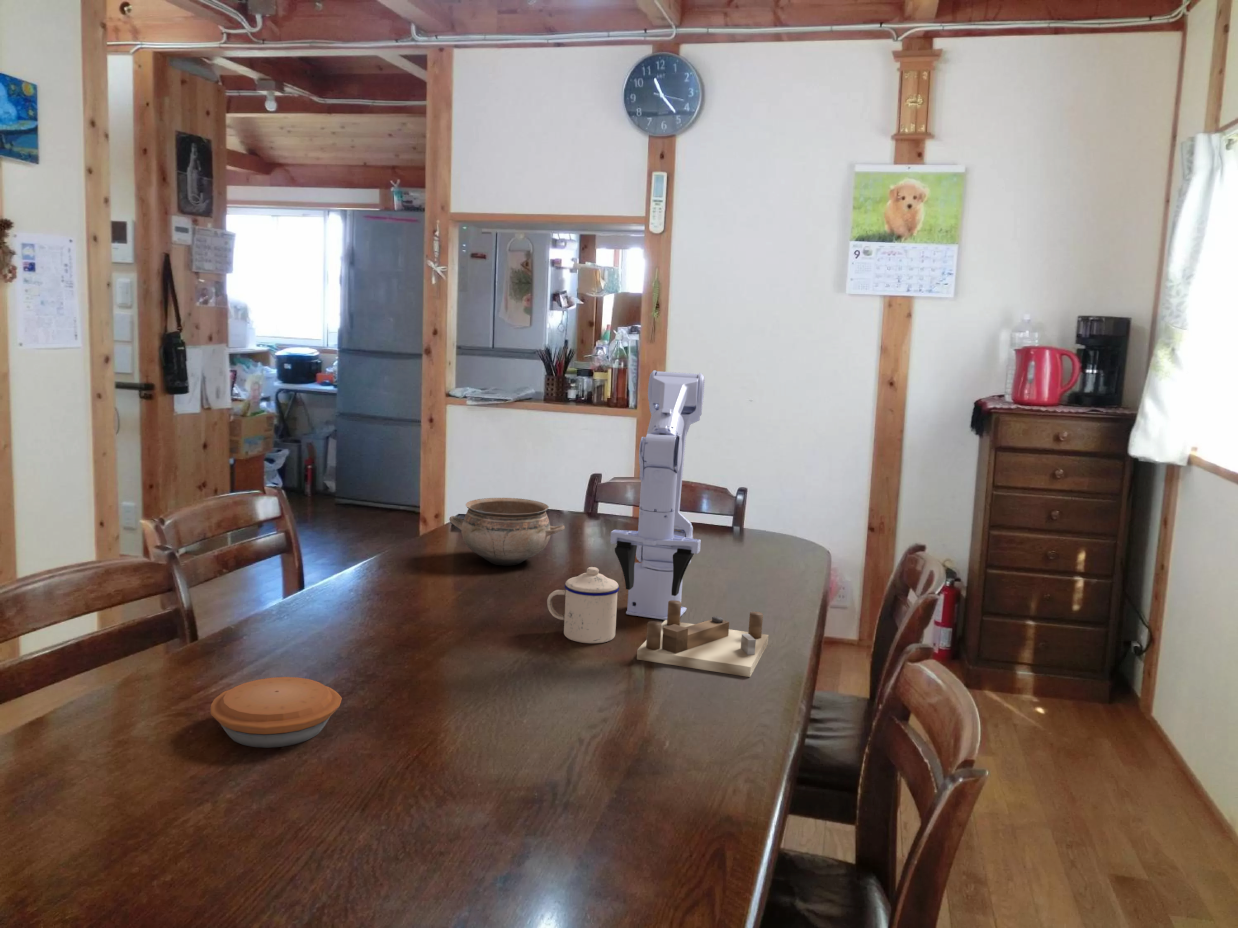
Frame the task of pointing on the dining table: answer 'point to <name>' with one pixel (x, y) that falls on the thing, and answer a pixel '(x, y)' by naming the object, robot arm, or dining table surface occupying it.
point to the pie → (275, 711)
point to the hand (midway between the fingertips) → (652, 591)
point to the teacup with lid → (588, 607)
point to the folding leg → (693, 634)
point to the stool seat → (708, 646)
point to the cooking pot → (506, 529)
